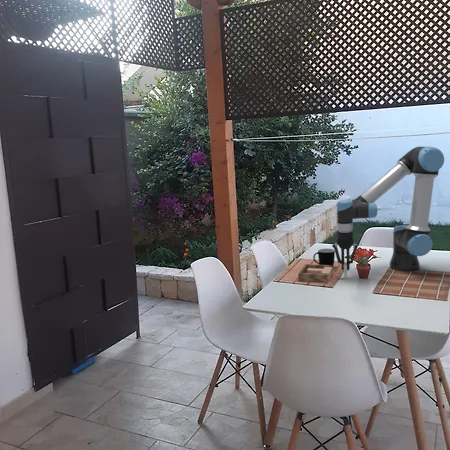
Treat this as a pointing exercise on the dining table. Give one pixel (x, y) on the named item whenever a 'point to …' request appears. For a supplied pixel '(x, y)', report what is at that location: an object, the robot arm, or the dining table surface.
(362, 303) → the dining table surface
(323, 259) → the mug
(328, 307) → the dining table surface
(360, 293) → the dining table surface
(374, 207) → the robot arm
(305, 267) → the pocket
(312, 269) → the block
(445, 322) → the dining table surface
